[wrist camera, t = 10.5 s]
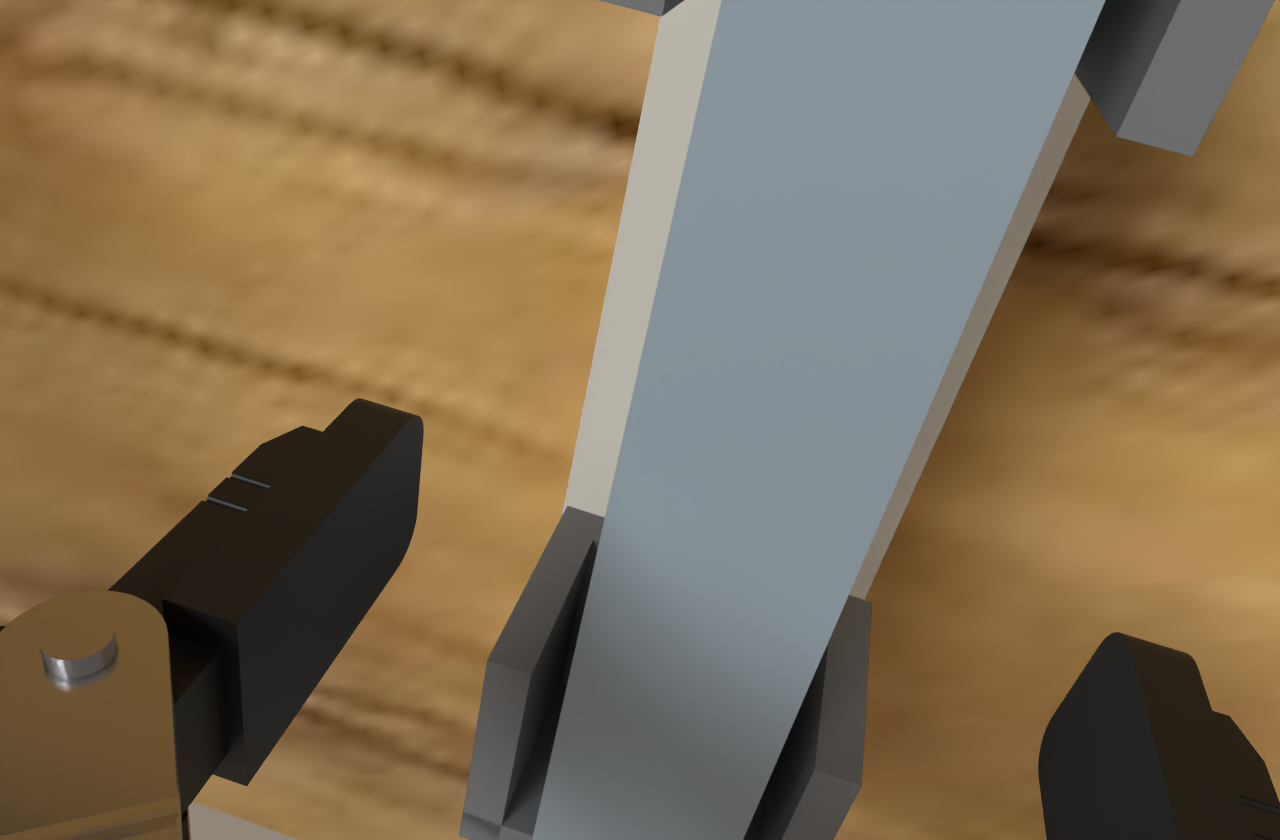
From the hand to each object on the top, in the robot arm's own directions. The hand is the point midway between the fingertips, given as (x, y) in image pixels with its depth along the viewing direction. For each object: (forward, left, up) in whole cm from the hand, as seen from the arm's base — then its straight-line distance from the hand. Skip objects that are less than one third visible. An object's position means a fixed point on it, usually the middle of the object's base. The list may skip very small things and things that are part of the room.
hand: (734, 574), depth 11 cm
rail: (0, 0, -6) cm, 6 cm away
